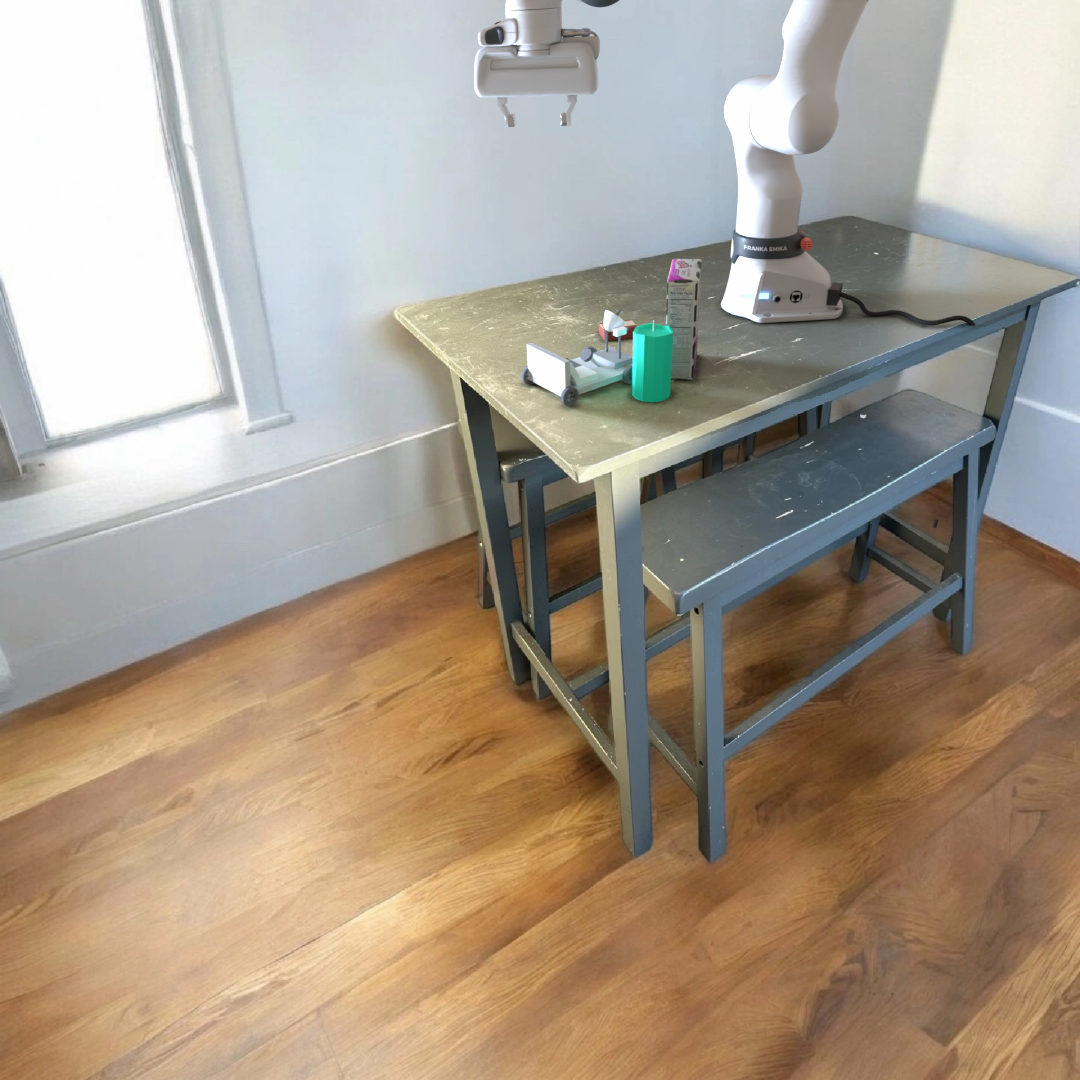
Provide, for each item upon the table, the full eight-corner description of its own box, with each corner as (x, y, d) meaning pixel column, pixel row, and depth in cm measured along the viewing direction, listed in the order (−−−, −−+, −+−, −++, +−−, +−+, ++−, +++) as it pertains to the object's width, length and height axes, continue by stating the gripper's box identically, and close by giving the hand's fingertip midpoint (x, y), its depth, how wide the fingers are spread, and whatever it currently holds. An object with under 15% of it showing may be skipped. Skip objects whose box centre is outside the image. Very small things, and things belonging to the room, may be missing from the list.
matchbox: (630, 329, 157) (630, 318, 156) (636, 337, 154) (637, 326, 153) (598, 333, 156) (598, 322, 155) (604, 341, 153) (604, 330, 152)
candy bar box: (667, 353, 147) (671, 257, 138) (697, 354, 146) (703, 257, 137) (662, 380, 138) (666, 279, 129) (693, 381, 137) (699, 279, 128)
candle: (660, 405, 130) (663, 329, 123) (625, 397, 133) (626, 323, 126) (676, 390, 134) (680, 316, 127) (642, 383, 137) (644, 310, 130)
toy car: (606, 300, 141) (653, 318, 133) (606, 356, 147) (651, 377, 139) (517, 327, 133) (562, 347, 125) (520, 385, 139) (563, 408, 131)
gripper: (601, 26, 136) (601, 121, 144) (476, 31, 139) (483, 124, 147) (597, 28, 131) (598, 127, 139) (468, 34, 134) (475, 130, 142)
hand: (538, 126), depth 143 cm, fingers open, 8 cm apart
